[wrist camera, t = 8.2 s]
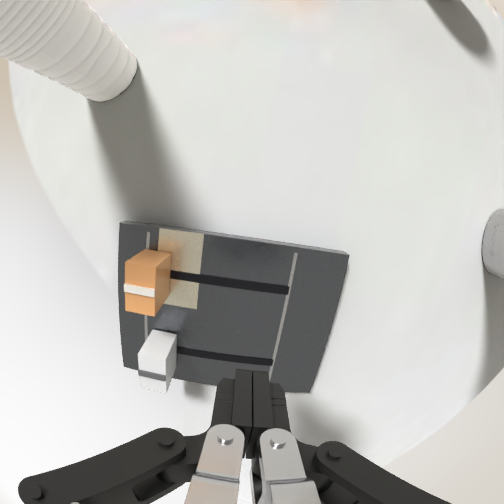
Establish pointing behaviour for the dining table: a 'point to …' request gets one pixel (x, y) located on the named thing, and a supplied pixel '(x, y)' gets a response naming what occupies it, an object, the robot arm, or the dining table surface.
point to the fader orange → (147, 281)
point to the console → (236, 304)
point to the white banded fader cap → (157, 361)
